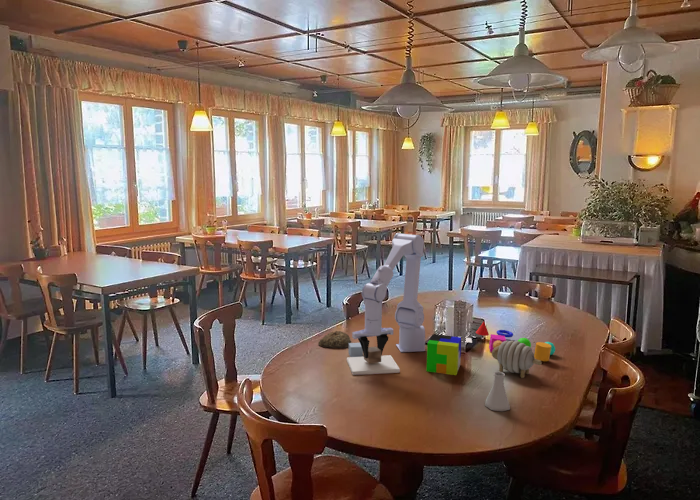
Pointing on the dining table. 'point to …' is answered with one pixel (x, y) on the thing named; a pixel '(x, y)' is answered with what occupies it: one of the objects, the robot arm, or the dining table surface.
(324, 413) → the dining table surface
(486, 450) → the dining table surface
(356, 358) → the baseplate
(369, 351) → the walnut block
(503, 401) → the flask
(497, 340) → the shape set
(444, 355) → the puzzle toy
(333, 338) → the bread roll
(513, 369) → the toy sheep
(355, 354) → the slate block
